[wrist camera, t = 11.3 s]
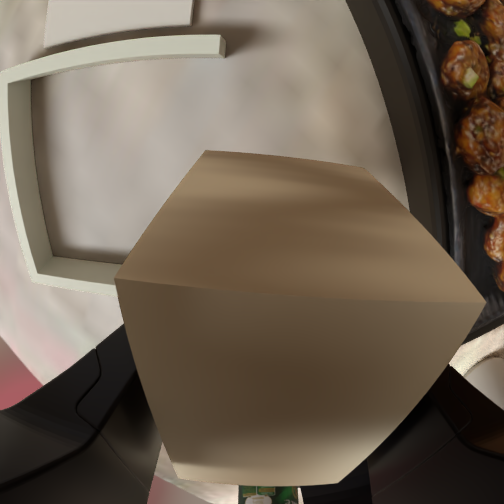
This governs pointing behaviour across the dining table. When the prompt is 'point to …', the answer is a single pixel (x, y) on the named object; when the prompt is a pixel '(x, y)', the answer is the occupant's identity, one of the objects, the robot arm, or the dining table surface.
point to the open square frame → (23, 161)
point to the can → (489, 379)
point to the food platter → (448, 125)
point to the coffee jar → (267, 494)
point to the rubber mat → (111, 17)
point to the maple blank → (286, 318)
